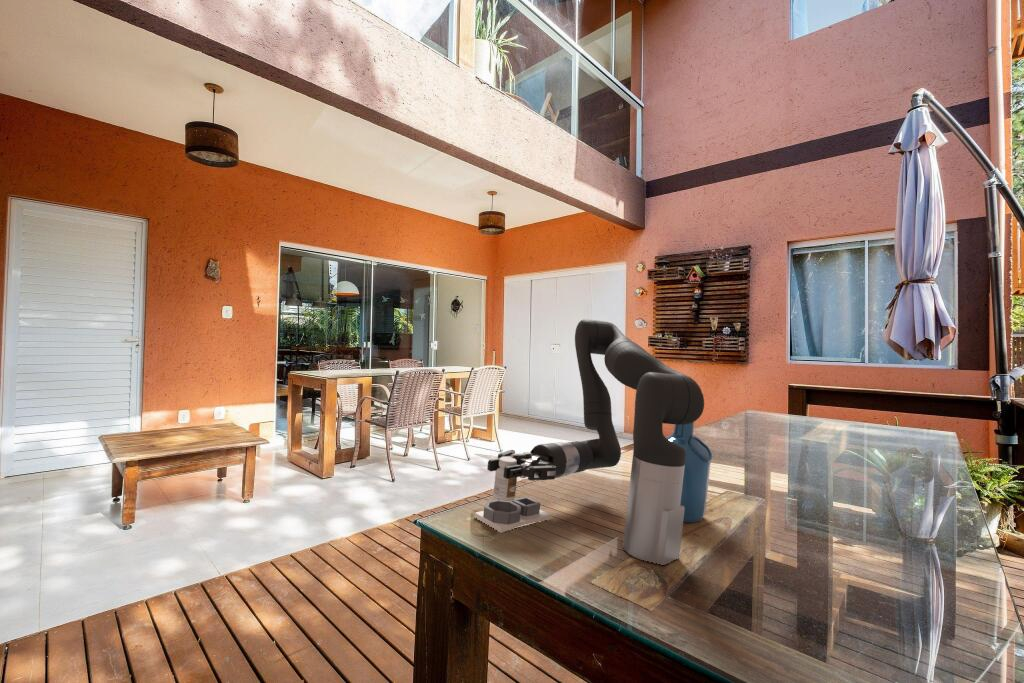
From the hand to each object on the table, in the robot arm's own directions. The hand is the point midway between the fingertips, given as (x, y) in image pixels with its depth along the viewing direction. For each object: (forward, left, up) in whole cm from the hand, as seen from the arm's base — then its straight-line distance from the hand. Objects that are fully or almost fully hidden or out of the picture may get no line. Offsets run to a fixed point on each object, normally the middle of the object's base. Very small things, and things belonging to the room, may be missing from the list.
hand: (497, 469), depth 88 cm
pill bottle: (0, -3, -6) cm, 7 cm away
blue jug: (-16, -44, -11) cm, 48 cm away
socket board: (0, -6, -11) cm, 12 cm away
